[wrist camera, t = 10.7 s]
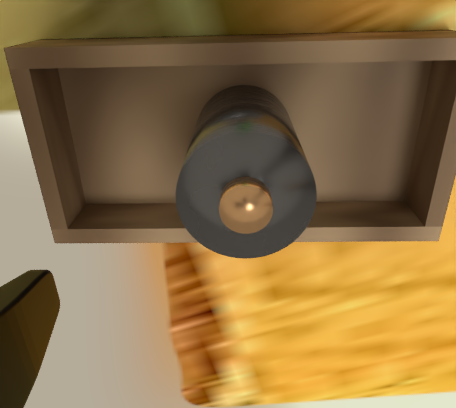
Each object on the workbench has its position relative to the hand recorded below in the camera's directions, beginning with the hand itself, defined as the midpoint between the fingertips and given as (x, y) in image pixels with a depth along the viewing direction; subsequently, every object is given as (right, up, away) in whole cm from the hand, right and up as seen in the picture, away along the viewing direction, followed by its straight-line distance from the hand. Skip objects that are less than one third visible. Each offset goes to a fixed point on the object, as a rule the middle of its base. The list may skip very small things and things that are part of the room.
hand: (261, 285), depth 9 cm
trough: (0, +5, +11) cm, 12 cm away
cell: (0, +5, +10) cm, 11 cm away
